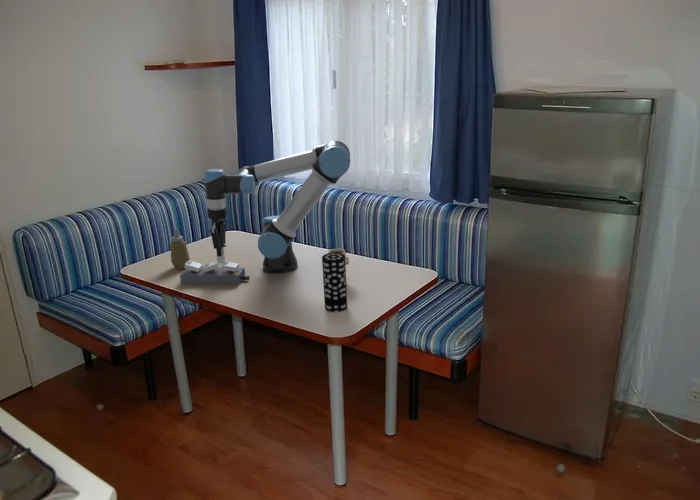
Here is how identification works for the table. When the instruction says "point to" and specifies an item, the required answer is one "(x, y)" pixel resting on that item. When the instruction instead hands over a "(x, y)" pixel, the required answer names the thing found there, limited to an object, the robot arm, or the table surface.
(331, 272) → the spotted tube
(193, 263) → the plate
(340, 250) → the character mug
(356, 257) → the table surface
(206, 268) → the block
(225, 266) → the plate
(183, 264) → the squeeze bottle
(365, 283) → the table surface
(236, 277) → the switch strip
